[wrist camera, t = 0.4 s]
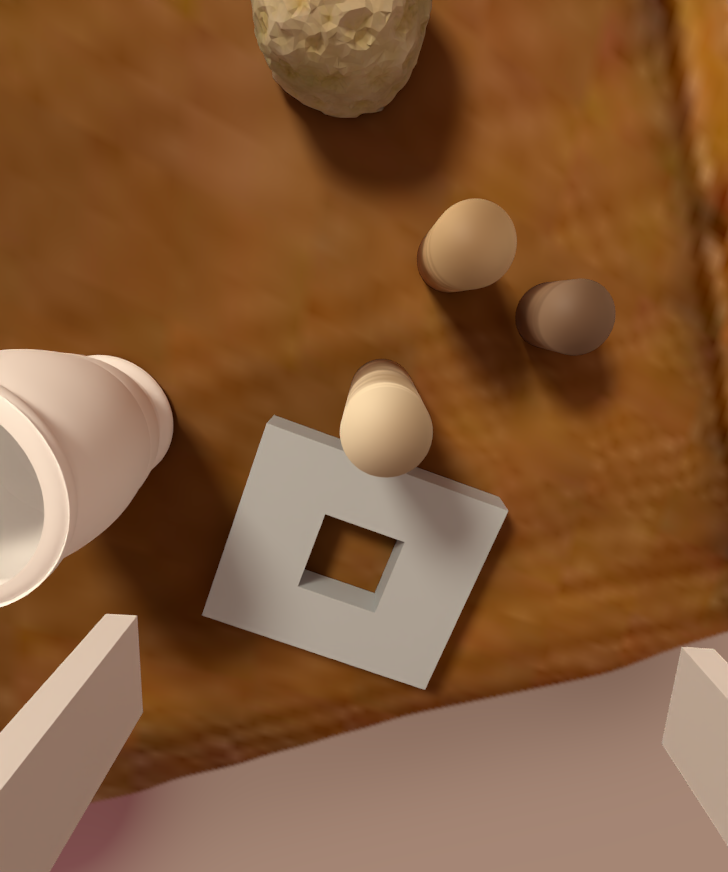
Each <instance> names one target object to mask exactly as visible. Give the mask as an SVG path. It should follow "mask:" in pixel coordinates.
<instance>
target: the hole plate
mask: <svg viewBox="0 0 728 872" xmlns="http://www.w3.org/2000/svg"><path fill="white" fill-rule="evenodd" d="M507 513H508V510H507V508H506V507H505V505H504V504H503V502H502V501H501V499H500V497H497V496H495V495H492V494H489V493H486V492H484V491H481V490H478V489H475V488H473V487H470V486H467V485H465V484H462V483H459V482H456V481H454V480H451V479H448V478H445V477H443V476H440V475H437V474H434V473H432V472H429V471H426V470H423V469H421V468H418V467H415V468H414V469H412V470H411V471H409V472H407V473H405V474H403V475H400V476H396V477H388V478H386V477H376V476H373V475H369V474H367V473H365V472H363V471H361V470H360V469H358V468H357V467H356V466H355V465H354V464H353V463H352V462H351V461H350V460H349V459H348V457H347V456H346V454H345V452H344V450H343V447H342V444H341V440H340V439H338V438H336V437H333V436H330V435H327V434H325V433H322V432H319V431H316V430H314V429H311V428H308V427H305V426H303V425H300V424H297V423H294V422H292V421H289V420H286V419H283V418H281V417H278V416H275V415H274V416H273V417H272V418H271V419H270V420H269V421H268V422H267V424H266V427H265V430H264V433H263V436H262V439H261V442H260V445H259V448H258V451H257V454H256V457H255V460H254V463H253V465H252V468H251V471H250V474H249V477H248V480H247V483H246V486H245V489H244V492H243V495H242V498H241V501H240V504H239V507H238V510H237V513H236V516H235V519H234V522H233V525H232V528H231V531H230V534H229V536H228V539H227V542H226V545H225V548H224V551H223V554H222V557H221V560H220V563H219V566H218V569H217V572H216V575H215V578H214V581H213V584H212V587H211V590H210V593H209V596H208V599H207V602H206V605H205V607H204V610H203V613H202V616H205V617H208V618H211V619H214V620H217V621H220V622H223V623H226V624H229V625H232V626H235V627H238V628H241V629H244V630H247V631H250V632H253V633H256V634H259V635H262V636H265V637H268V638H271V639H274V640H277V641H280V642H283V643H286V644H289V645H292V646H295V647H298V648H301V649H304V650H307V651H310V652H313V653H316V654H319V655H322V656H325V657H328V658H331V659H334V660H337V661H340V662H343V663H346V664H349V665H352V666H355V667H358V668H361V669H364V670H367V671H370V672H373V673H376V674H379V675H382V676H385V677H388V678H391V679H394V680H397V681H400V682H403V683H406V684H409V685H412V686H415V687H418V688H421V689H424V690H425V689H426V686H427V684H428V682H429V680H430V678H431V676H432V674H433V671H434V669H435V667H436V665H437V663H438V661H439V659H440V656H441V654H442V652H443V650H444V648H445V646H446V644H447V641H448V639H449V637H450V635H451V633H452V631H453V629H454V626H455V624H456V622H457V620H458V618H459V616H460V614H461V611H462V609H463V607H464V605H465V603H466V601H467V598H468V596H469V594H470V592H471V590H472V588H473V586H474V583H475V581H476V579H477V577H478V575H479V573H480V571H481V568H482V566H483V564H484V562H485V560H486V558H487V556H488V553H489V551H490V549H491V547H492V545H493V543H494V541H495V538H496V536H497V534H498V532H499V530H500V528H501V526H502V523H503V521H504V519H505V517H506V515H507ZM325 514H326V515H329V516H332V517H335V518H337V519H340V520H343V521H346V522H349V523H352V524H354V525H357V526H360V527H363V528H366V529H369V530H371V531H374V532H377V533H380V534H383V535H385V536H388V537H391V538H394V539H397V541H396V544H395V546H394V548H393V551H392V553H391V556H390V558H389V560H388V563H387V565H386V568H385V570H384V572H383V575H382V577H381V580H380V582H379V584H378V587H377V589H376V591H375V593H372V592H369V591H366V590H364V589H361V588H358V587H355V586H352V585H349V584H346V583H343V582H340V581H337V580H335V579H332V578H329V577H326V576H323V575H320V574H317V573H314V572H311V571H308V570H306V569H305V566H306V564H307V561H308V558H309V556H310V553H311V550H312V548H313V545H314V542H315V540H316V537H317V535H318V532H319V529H320V527H321V524H322V521H323V519H324V516H325Z"/></svg>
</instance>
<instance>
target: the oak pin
mask: <svg viewBox="0 0 728 872" xmlns="http://www.w3.org/2000/svg"><path fill="white" fill-rule="evenodd" d="M516 246H517V237H516V231H515V228H514V225H513V223H512V220H511V219H510V217H509V215H508V214H507V213H506V212H505V211H504V210H503V209H502V208H501V207H500V206H498V205H497V204H495V203H493V202H491V201H488V200H484V199H467V200H463V201H461V202H458V203H456V204H454V205H453V206H451V207H450V208H449V209H447V210H446V211H445V212H444V213H443V214H442V216H441V217H440V218H439V219H438V221H437V222H436V223H435V224H434V226H433V227H432V228H431V230H430V231H429V232H428V233H427V235H426V236H425V237H424V239H423V240H422V242H421V244H420V246H419V249H418V253H417V266H418V270H419V273H420V275H421V277H422V278H423V280H424V281H425V282H426V283H427V284H428V285H429V286H430V287H432V288H433V289H435V290H437V291H441V292H447V293H450V292H458V291H465V290H472V289H479V288H483V287H486V286H489V285H491V284H493V283H494V282H496V281H497V280H499V279H500V278H501V277H502V276H503V275H504V274H505V273H506V271H507V270H508V269H509V267H510V265H511V263H512V261H513V259H514V256H515V252H516Z"/></svg>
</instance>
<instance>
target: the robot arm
mask: <svg viewBox="0 0 728 872" xmlns="http://www.w3.org/2000/svg"><path fill="white" fill-rule="evenodd" d="M142 713H143V708H142V690H141V673H140V655H139V637H138V620H137V616H136V615H118V614H105V616H104V617H103V618H102V619H101V620H100V621H99V622H98V623H97V625H96V626H95V627H94V628H93V629H92V630H91V631H90V632H89V634H88V635H87V636H86V637H85V638H84V639H83V640H82V641H81V643H80V644H79V645H78V646H77V647H76V648H75V649H74V650H73V652H72V653H71V654H70V655H69V656H68V657H67V658H66V659H65V661H64V662H63V663H62V664H61V665H60V666H59V667H58V668H57V670H56V671H55V672H54V673H53V674H52V675H51V676H50V677H49V679H48V680H47V681H46V682H45V683H44V684H43V685H42V686H41V688H40V689H39V690H38V691H37V692H36V693H35V694H34V695H33V697H32V698H31V699H30V700H29V701H28V702H27V703H26V704H25V706H24V707H23V708H22V709H21V710H20V711H19V712H18V713H17V715H16V716H15V717H14V718H13V719H12V720H11V721H10V722H9V724H8V725H7V726H6V727H5V728H4V729H3V730H2V731H1V733H0V872H50V870H51V869H52V867H53V865H54V864H55V862H56V860H57V858H58V857H59V855H60V853H61V851H62V850H63V848H64V846H65V845H66V843H67V841H68V840H69V838H70V836H71V834H72V833H73V831H74V829H75V828H76V826H77V824H78V822H79V821H80V819H81V817H82V816H83V814H84V812H85V810H86V809H87V807H88V805H89V804H90V802H91V800H92V798H93V797H94V795H95V793H96V792H97V790H98V788H99V786H100V785H101V783H102V781H103V780H104V778H105V776H106V774H107V773H108V771H109V769H110V768H111V766H112V764H113V762H114V761H115V759H116V757H117V756H118V754H119V752H120V750H121V749H122V747H123V745H124V744H125V742H126V740H127V738H128V737H129V735H130V733H131V732H132V730H133V728H134V726H135V725H136V723H137V721H138V720H139V718H140V716H141V714H142ZM662 745H663V747H664V748H665V750H666V751H667V753H668V755H669V756H670V758H671V759H672V761H673V762H674V764H675V765H676V767H677V769H678V770H679V772H680V773H681V775H682V776H683V778H684V779H685V781H686V783H687V784H688V786H689V787H690V789H691V790H692V792H693V793H694V795H695V797H696V798H697V800H698V801H699V803H700V804H701V806H702V807H703V809H704V811H705V812H706V814H707V815H708V817H709V818H710V820H711V821H712V823H713V825H714V826H715V827H716V829H717V830H718V832H719V834H720V835H721V837H722V838H723V840H724V842H725V843H726V845H727V846H728V663H727V662H726V661H725V660H724V659H723V658H722V657H721V656H720V655H719V654H718V653H717V651H715V649H708V648H691V647H681V652H680V657H679V662H678V667H677V672H676V677H675V681H674V686H673V691H672V696H671V701H670V706H669V711H668V715H667V720H666V725H665V730H664V735H663V739H662Z"/></svg>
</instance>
